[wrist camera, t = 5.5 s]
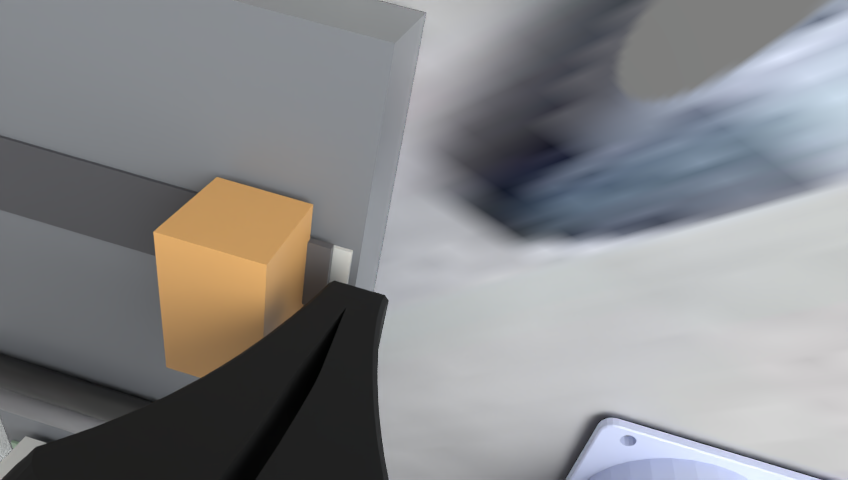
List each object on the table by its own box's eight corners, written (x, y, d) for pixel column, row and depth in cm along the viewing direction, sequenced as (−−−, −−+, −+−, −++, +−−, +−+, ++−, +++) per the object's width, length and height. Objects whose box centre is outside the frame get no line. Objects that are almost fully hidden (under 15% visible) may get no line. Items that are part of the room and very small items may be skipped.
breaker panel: (426, 12, 14) (381, 56, 10) (328, 528, 27) (296, 619, 24) (-64, -115, 14) (-250, -112, 11) (78, 447, 28) (13, 524, 25)
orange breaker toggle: (338, 210, 13) (295, 273, 11) (322, 332, 15) (284, 404, 13) (194, 169, 13) (125, 223, 11) (199, 295, 16) (143, 360, 14)
